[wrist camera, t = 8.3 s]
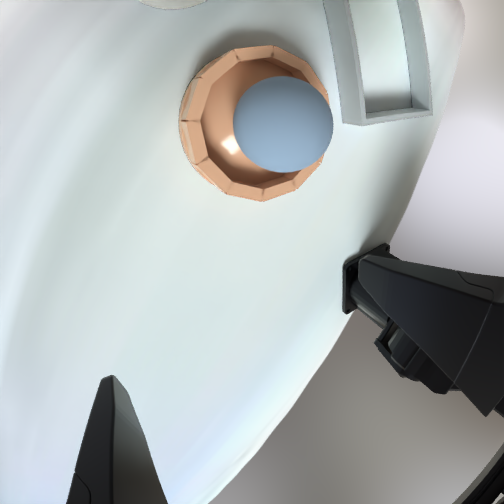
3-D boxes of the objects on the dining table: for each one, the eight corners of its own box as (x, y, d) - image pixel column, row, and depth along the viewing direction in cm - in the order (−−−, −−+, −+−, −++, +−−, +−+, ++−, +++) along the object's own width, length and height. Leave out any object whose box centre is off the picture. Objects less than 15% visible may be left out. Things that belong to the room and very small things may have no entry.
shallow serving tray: (415, 112, 25) (432, 115, 23) (342, 123, 22) (362, 126, 20) (394, -22, 17) (411, -25, 15) (311, -45, 14) (329, -53, 12)
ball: (288, 75, 18) (348, 70, 13) (300, 152, 20) (357, 168, 16) (209, 88, 16) (254, 78, 11) (228, 174, 19) (274, 196, 14)
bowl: (320, 171, 23) (337, 177, 21) (199, 213, 20) (209, 223, 18) (303, 45, 18) (320, 42, 16) (162, 64, 15) (169, 58, 13)
